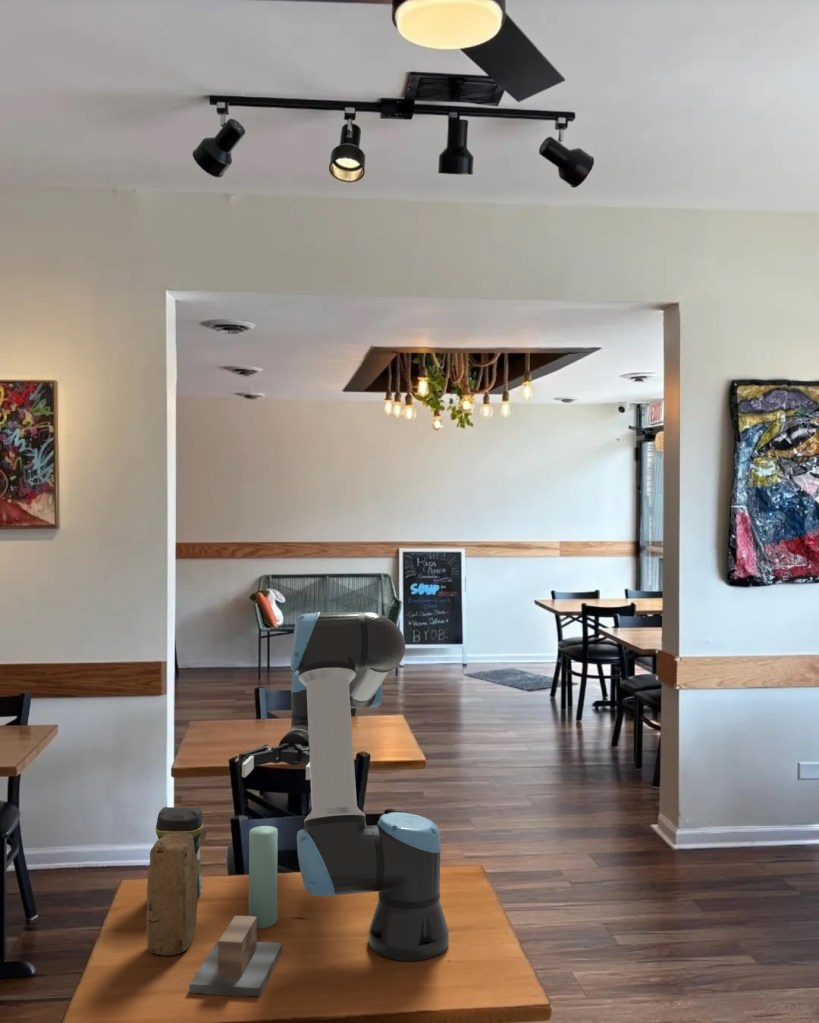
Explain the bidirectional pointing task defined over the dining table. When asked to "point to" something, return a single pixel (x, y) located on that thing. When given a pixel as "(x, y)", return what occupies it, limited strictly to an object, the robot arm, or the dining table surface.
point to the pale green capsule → (263, 875)
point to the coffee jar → (183, 829)
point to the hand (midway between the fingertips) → (275, 772)
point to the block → (171, 894)
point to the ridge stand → (237, 962)
